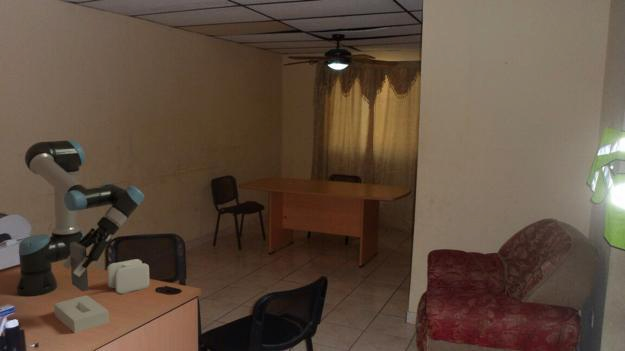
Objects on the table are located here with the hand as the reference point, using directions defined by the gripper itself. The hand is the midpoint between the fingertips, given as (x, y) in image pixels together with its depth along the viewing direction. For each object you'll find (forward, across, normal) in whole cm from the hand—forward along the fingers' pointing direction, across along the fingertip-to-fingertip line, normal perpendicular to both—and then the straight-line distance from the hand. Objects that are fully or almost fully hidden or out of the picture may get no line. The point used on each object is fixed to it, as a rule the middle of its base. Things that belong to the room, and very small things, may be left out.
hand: (70, 270), depth 169 cm
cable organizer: (-7, +20, -37) cm, 42 cm away
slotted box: (+13, 0, -17) cm, 21 cm away
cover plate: (+3, 0, -7) cm, 8 cm away
